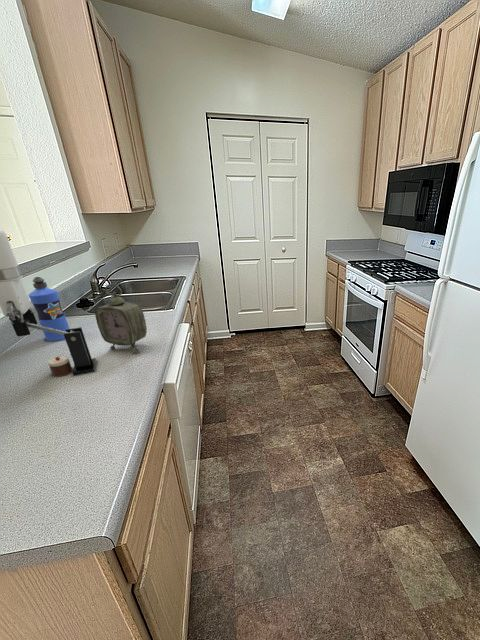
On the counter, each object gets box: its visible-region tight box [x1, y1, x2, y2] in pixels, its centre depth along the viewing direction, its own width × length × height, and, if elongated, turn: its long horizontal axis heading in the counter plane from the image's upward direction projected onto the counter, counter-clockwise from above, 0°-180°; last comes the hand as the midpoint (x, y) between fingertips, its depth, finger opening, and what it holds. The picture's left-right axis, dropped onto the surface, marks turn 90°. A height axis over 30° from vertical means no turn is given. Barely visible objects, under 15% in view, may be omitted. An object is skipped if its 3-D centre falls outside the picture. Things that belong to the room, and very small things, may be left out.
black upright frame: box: [64, 326, 97, 376], centre depth 111 cm, size 6×9×14 cm, turn 25°
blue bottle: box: [28, 276, 71, 342], centre depth 134 cm, size 9×9×25 cm
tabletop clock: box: [94, 283, 148, 354], centre depth 122 cm, size 14×9×25 cm, turn 74°
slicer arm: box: [24, 319, 76, 335], centre depth 105 cm, size 15×5×2 cm, turn 115°
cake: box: [47, 355, 73, 377], centre depth 110 cm, size 6×6×6 cm
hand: (28, 329), depth 103 cm, fingers open, 9 cm apart
